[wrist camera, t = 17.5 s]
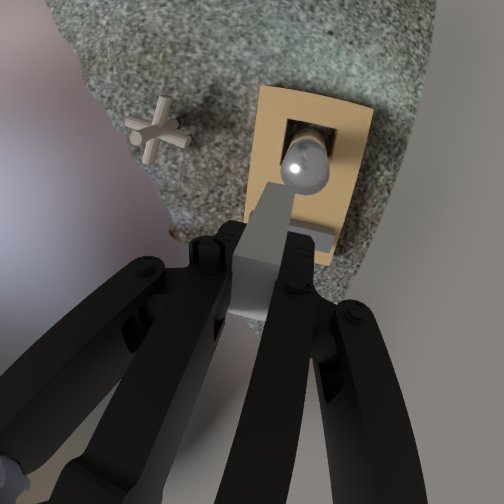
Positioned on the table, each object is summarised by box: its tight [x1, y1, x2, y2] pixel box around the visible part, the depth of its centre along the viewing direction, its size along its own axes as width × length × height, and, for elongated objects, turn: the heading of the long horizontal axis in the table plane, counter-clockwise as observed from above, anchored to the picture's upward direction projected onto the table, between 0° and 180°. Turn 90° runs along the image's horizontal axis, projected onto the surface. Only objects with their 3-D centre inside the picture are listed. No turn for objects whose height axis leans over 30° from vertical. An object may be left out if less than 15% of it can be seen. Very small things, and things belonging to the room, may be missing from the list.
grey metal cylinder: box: [280, 127, 330, 195], centre depth 29 cm, size 4×4×14 cm
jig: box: [243, 85, 374, 266], centre depth 35 cm, size 24×14×5 cm, turn 173°
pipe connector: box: [125, 95, 191, 165], centre depth 33 cm, size 10×10×10 cm
